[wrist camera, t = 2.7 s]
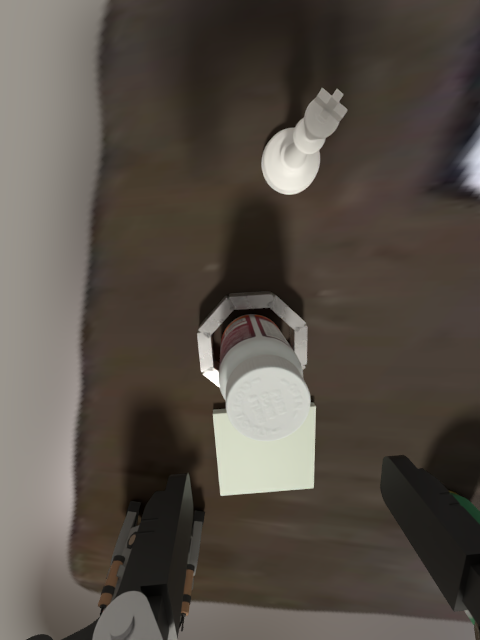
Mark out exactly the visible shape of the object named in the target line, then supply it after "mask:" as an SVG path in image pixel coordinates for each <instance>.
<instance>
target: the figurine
mask: <svg viewBox="0 0 480 640" xmlns="http://www.w3.org/2000/svg"><path fill="white" fill-rule="evenodd" d="M140 505H141V502H134V501H130V504H129V507H128V510H127V515H126V518H125V521H124V524H123V526H122V529H121V532H120V535H119V537H118V540H117V543H116V546H115V549H114V553H113V556H112V560H111V565H112V566H111V568H110V569H109V572H108V574H107V577H106V579H107V580H106V583H105V585H104V587H103V590H102V593H101V597H100V600H99V603H98V606H99V607H100V608H101V613H100V616H101V615H102V613H103V611H104V610H105V609H106V607H107V606H108V605H109V604H110V603H111V602H112V601H113V600H114V598H115V596H116V594H117V592H118V589H119V587H120V584H121V581H122V577H123V574H124V571H125V568H126V565H127V562H128V559H129V556H130V553H131V550H132V546H133V543H134V540H135V537H136V536H137V531H138V528H139V525H138V526H137V520H138V515H139V510H140ZM204 515H205V512H203V511H196V510H195V513H194V516H193V523H192V531H191V539H190V546H189V554H188V562H187V570H186V577H185V585H184V593H183V601H182V609H181V616H180V624H179V628H180V626H181V623H182V629H181V631H183V623H184V617H185V616H187V615H188V613H189V605H190V601H191V590H192V589H193V583H194V578H193V576H194V575H195V572H196V567H197V561H198V555H199V548H200V540H201V531H202V525H203V522H204Z"/></svg>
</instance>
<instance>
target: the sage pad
mask: <svg viewBox="0 0 480 640" xmlns="http://www.w3.org/2000/svg"><path fill="white" fill-rule="evenodd" d="M315 419H316V406H315V404H314V402H311V403H310V410H309V413H308V416H307V418H306V420H305V421H304V423H303V424H302V425H301V426H300V427H299V428H298V429H297V430H296V431H295V432H293V433H292V434H290V435H289V436H287V437H285V438H282V439H278V440H274V441H258V440H254V439H251V438H248V437H246V436H244V435H242V434H241V433H240V432H238V431H237V430H236V429H235V428H234V426H233V425H232V424H231V422H230V420H229V418H228V415H227V411H226V409H214V410H213V421H214V431H215V442H216V453H217V463H218V474H219V484H220V495H221V496H224V495H236V494H248V493H260V492H273V491H285V490H297V489H309V488H314V458H315Z"/></svg>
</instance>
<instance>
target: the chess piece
mask: <svg viewBox="0 0 480 640" xmlns="http://www.w3.org/2000/svg"><path fill="white" fill-rule="evenodd" d="M343 95H344V94H343V93H342V92H340V91H339V90H338V89H336V90H335V92H334V93H333V95H332V96H331V95H330V94H329V93H328V92H327V91H326V90H325V89H323V88H322V89H321V90H320V92H319V93H318V95H317V97H316V98H315V99H314V100H312V101H311V102H310V104H309V105H308V107H307V109H306V112H305V116H304V118H303V119H301V120H300V121H299V122H298V123H297V125H296V127H295V128H287V129H284V130H281V131H279V132H278V133H276V134H275V135H274V136H273V137H272V138H271V139H270V141H269V142H268V143H267V145H266V147H265V149H264V152H263V155H262V172H263V175H264V178H265V180H266V181H267V183H268V184H269V185H270V187H271V188H273V189H274V190H275V191H277V192H279V193H282V194H287V195H291V194H296V193H299V192H301V191H303V190H304V189H306V188H307V187H308V186H309V185H310V184H311V183H312V181H313V180H314V178H315V176H316V174H317V172H318V169H319V165H320V153H319V150H320V148H321V147H322V146H323V144H324V142H325V138H326V137H328V136H330V135H331V134H332V133H333V132H334V131H335V130H336V128H337V127H338V124H339V122H340V120H341V119H342V118H343V117H344V115H345V114H346V112H347V109H346V108H345V107H344V106H343V105H342V104H341V103H339V101H340V100H341V98H342V96H343Z"/></svg>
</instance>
